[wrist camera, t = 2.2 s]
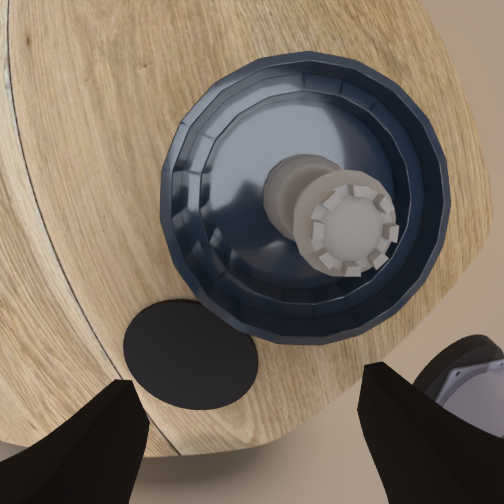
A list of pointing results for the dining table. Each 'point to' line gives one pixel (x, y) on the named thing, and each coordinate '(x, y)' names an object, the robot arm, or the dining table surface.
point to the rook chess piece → (331, 214)
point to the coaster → (189, 355)
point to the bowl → (256, 175)
